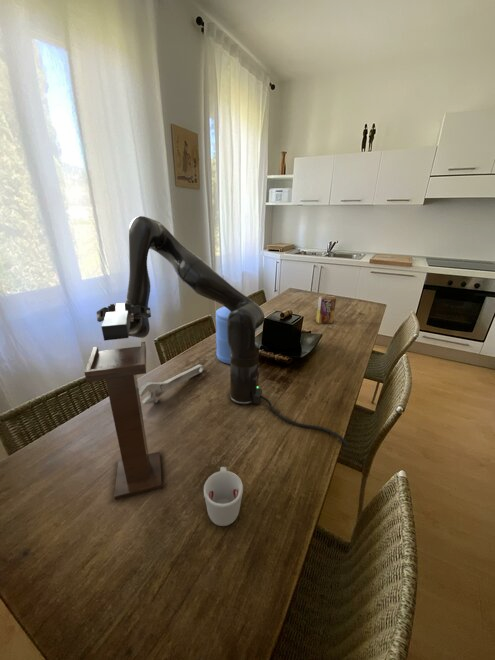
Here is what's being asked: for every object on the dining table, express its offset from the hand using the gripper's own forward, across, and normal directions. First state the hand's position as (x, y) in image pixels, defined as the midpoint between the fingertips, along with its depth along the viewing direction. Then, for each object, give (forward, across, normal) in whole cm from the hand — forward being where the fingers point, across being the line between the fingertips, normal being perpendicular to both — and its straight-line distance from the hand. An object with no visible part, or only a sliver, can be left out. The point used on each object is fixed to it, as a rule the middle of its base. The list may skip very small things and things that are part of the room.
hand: (119, 307), depth 65 cm
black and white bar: (+3, 0, +4) cm, 5 cm away
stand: (-7, 0, +40) cm, 41 cm away
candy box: (-73, +101, +3) cm, 124 cm away
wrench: (-36, +12, +24) cm, 45 cm away
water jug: (-51, +38, +15) cm, 65 cm away
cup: (+5, +17, +47) cm, 50 cm away
